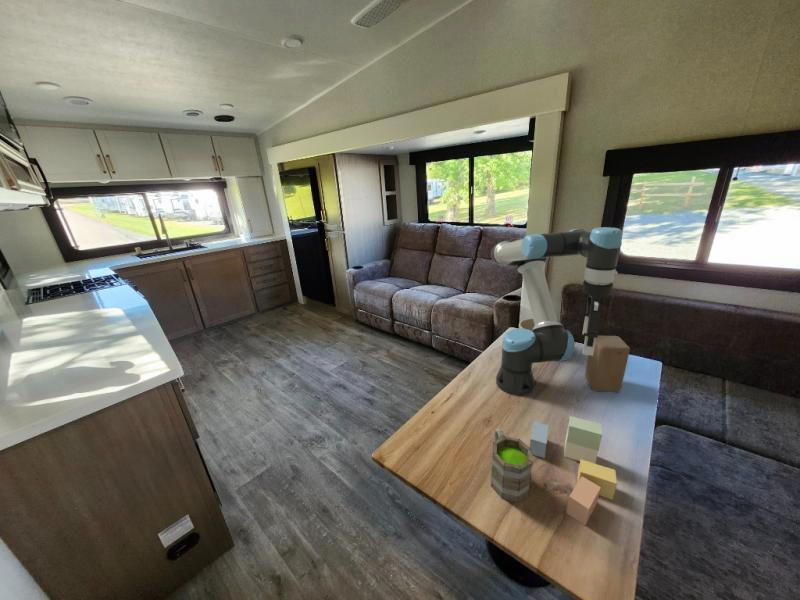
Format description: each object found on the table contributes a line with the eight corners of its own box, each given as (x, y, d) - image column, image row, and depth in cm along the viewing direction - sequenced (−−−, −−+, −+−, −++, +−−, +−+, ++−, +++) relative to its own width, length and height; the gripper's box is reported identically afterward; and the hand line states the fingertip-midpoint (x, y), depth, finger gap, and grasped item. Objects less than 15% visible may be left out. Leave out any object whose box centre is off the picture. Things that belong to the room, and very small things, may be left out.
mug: (537, 499, 81) (542, 466, 77) (498, 504, 80) (500, 471, 76) (512, 451, 96) (515, 421, 91) (478, 455, 95) (479, 425, 91)
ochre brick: (577, 487, 83) (580, 471, 81) (577, 474, 87) (580, 459, 85) (612, 500, 80) (616, 483, 78) (611, 486, 83) (615, 470, 81)
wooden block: (621, 393, 117) (631, 348, 110) (592, 391, 119) (600, 346, 112) (609, 378, 126) (619, 335, 119) (583, 376, 128) (590, 334, 121)
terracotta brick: (585, 525, 74) (588, 509, 72) (566, 512, 77) (569, 496, 75) (596, 503, 79) (600, 487, 77) (578, 492, 82) (581, 476, 80)
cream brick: (563, 456, 93) (566, 441, 91) (564, 445, 96) (567, 431, 94) (594, 466, 89) (598, 450, 87) (594, 454, 93) (597, 439, 90)
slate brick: (544, 458, 93) (546, 443, 90) (528, 453, 95) (530, 438, 92) (546, 439, 99) (548, 425, 97) (532, 435, 101) (533, 421, 99)
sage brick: (566, 441, 91) (569, 425, 88) (567, 431, 94) (569, 416, 92) (598, 451, 87) (602, 434, 85) (597, 440, 90) (601, 424, 88)
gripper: (617, 296, 79) (603, 366, 86) (610, 270, 99) (599, 329, 106) (584, 293, 82) (573, 361, 90) (583, 269, 102) (574, 326, 110)
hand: (587, 344), depth 98 cm, fingers open, 13 cm apart
